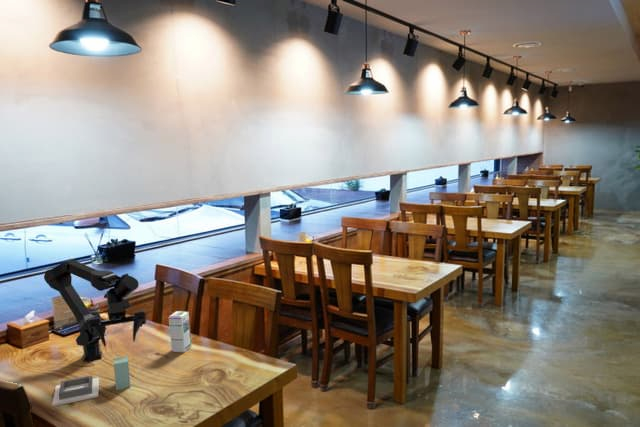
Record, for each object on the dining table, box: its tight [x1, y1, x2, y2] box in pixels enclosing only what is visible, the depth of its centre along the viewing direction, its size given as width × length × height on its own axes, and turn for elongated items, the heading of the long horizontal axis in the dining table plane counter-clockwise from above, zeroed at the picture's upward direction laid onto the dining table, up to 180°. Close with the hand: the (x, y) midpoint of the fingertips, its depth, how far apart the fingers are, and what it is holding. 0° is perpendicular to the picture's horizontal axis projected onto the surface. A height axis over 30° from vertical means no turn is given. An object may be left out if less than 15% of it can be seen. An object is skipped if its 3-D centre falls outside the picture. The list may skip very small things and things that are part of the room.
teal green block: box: [113, 356, 131, 391], centre depth 165 cm, size 4×4×9 cm
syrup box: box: [168, 310, 192, 353], centre depth 193 cm, size 6×6×14 cm
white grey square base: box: [52, 374, 100, 407], centre depth 162 cm, size 13×13×3 cm
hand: (119, 343), depth 170 cm, fingers open, 9 cm apart
